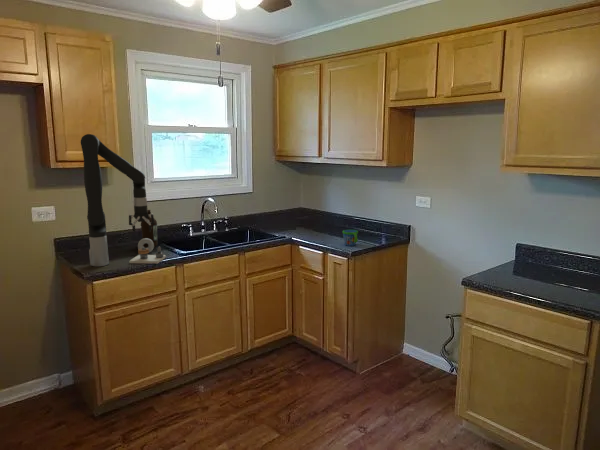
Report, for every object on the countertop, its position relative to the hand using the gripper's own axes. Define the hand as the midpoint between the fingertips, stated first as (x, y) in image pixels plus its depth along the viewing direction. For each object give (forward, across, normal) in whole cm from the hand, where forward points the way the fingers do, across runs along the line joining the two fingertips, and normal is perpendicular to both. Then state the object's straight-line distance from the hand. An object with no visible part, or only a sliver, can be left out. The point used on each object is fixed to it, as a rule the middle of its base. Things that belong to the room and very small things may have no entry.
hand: (142, 231), depth 268 cm
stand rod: (+17, 0, 0) cm, 17 cm away
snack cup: (+18, +135, +5) cm, 137 cm away
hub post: (+17, +9, 0) cm, 19 cm away
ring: (+13, 0, 0) cm, 13 cm away
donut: (+18, 0, +18) cm, 26 cm away
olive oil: (+18, +1, +40) cm, 44 cm away
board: (+18, +2, 0) cm, 18 cm away
